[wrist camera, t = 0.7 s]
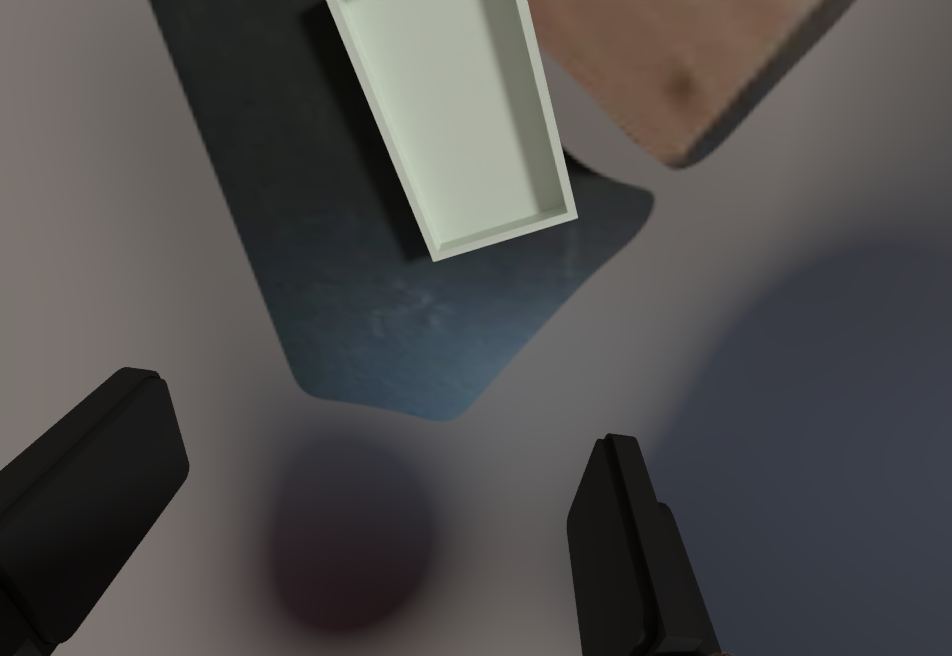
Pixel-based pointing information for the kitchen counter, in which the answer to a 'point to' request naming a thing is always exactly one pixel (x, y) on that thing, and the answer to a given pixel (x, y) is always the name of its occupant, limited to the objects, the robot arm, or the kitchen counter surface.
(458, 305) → the kitchen counter surface
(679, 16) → the kitchen counter surface
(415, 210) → the tray
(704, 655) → the robot arm
